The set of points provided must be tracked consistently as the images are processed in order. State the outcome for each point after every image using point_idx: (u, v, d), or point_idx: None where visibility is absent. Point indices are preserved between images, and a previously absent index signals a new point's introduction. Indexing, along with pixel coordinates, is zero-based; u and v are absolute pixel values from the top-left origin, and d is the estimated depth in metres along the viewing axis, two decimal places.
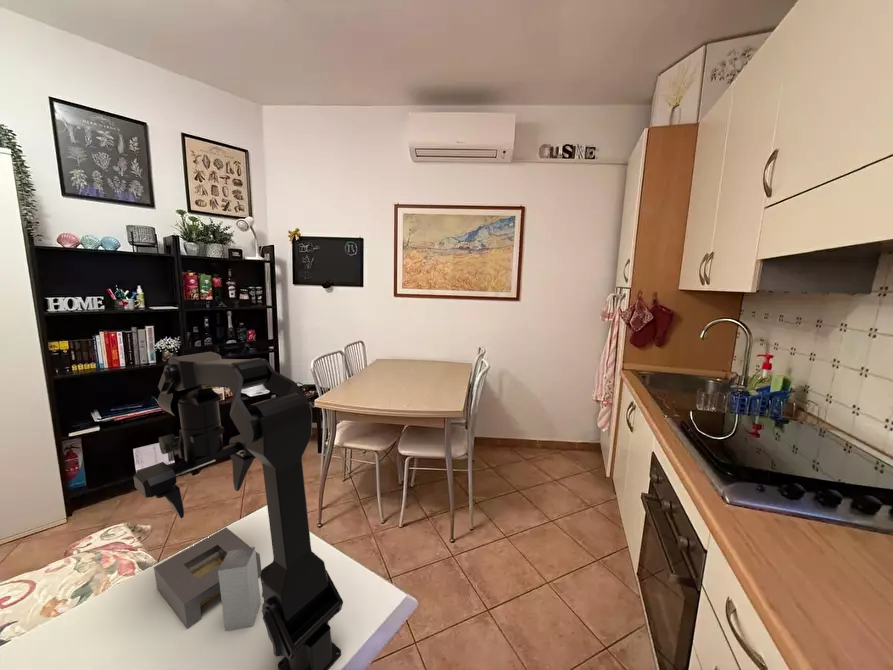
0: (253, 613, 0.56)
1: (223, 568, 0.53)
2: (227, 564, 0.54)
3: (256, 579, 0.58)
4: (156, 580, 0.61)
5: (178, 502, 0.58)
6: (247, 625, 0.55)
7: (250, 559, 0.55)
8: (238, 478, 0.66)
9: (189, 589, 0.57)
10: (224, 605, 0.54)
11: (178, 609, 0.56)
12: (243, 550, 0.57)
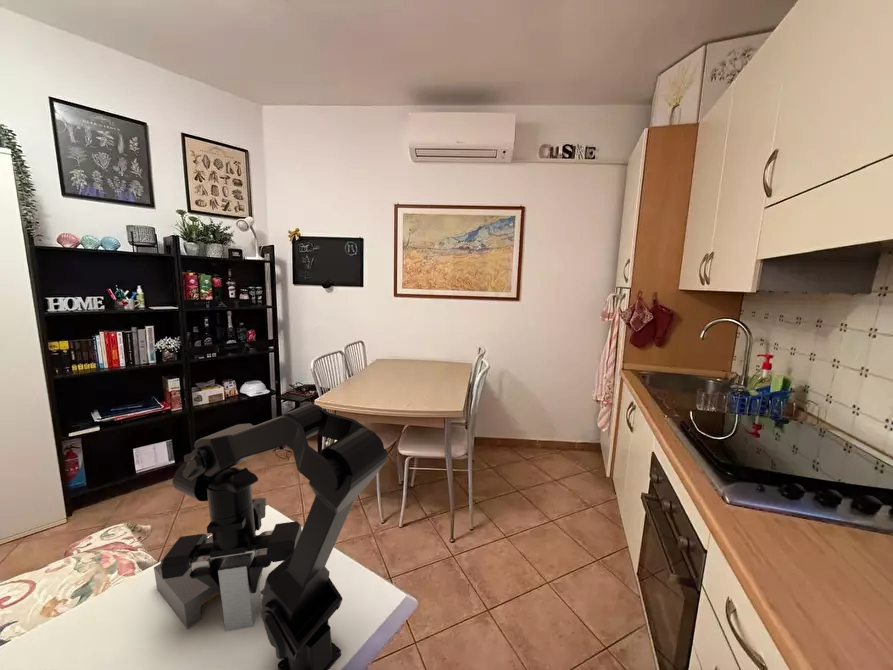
0: (253, 613, 0.56)
1: (223, 568, 0.53)
2: (227, 564, 0.54)
3: None
4: (156, 580, 0.61)
5: (214, 585, 0.53)
6: (247, 624, 0.55)
7: (250, 559, 0.55)
8: None
9: (189, 589, 0.57)
10: (224, 605, 0.54)
11: (178, 609, 0.56)
12: None
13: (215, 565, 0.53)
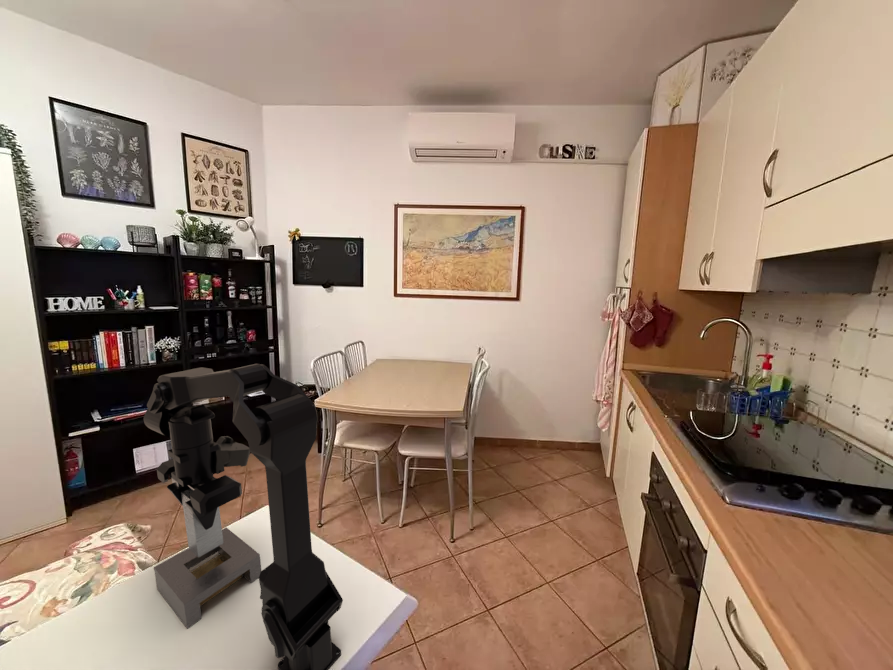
0: (201, 546, 0.60)
1: (184, 492, 0.60)
2: (190, 490, 0.60)
3: (215, 518, 0.61)
4: (156, 580, 0.61)
5: (182, 504, 0.61)
6: (196, 553, 0.60)
7: None
8: None
9: (189, 589, 0.57)
10: (186, 525, 0.61)
11: (178, 609, 0.56)
12: None
13: (185, 487, 0.61)
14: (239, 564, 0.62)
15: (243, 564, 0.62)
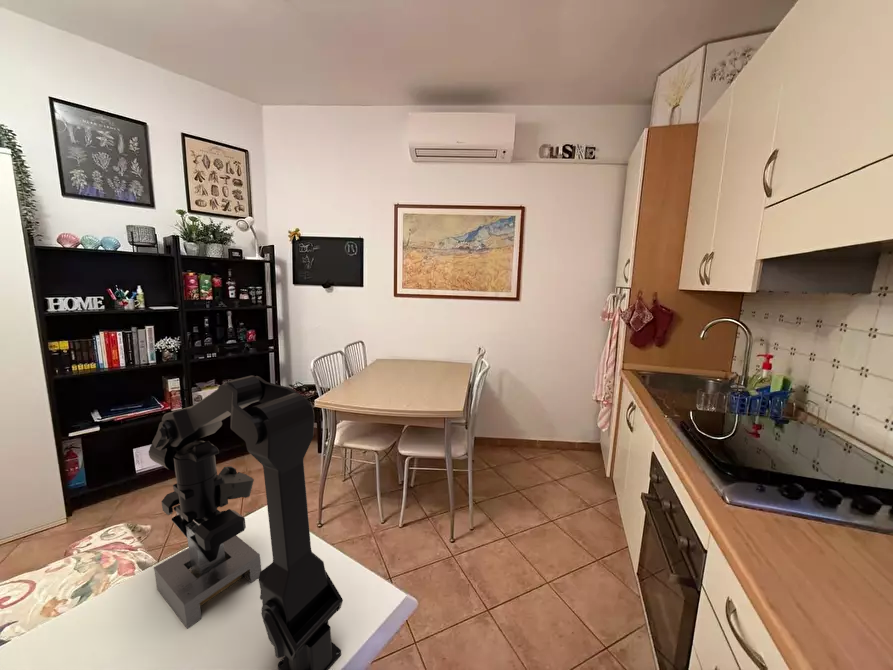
0: None
1: (188, 525, 0.61)
2: (194, 523, 0.61)
3: (219, 550, 0.62)
4: (156, 580, 0.61)
5: None
6: None
7: None
8: None
9: (189, 589, 0.57)
10: (190, 557, 0.62)
11: (178, 609, 0.56)
12: None
13: None
14: (239, 564, 0.62)
15: (243, 564, 0.62)
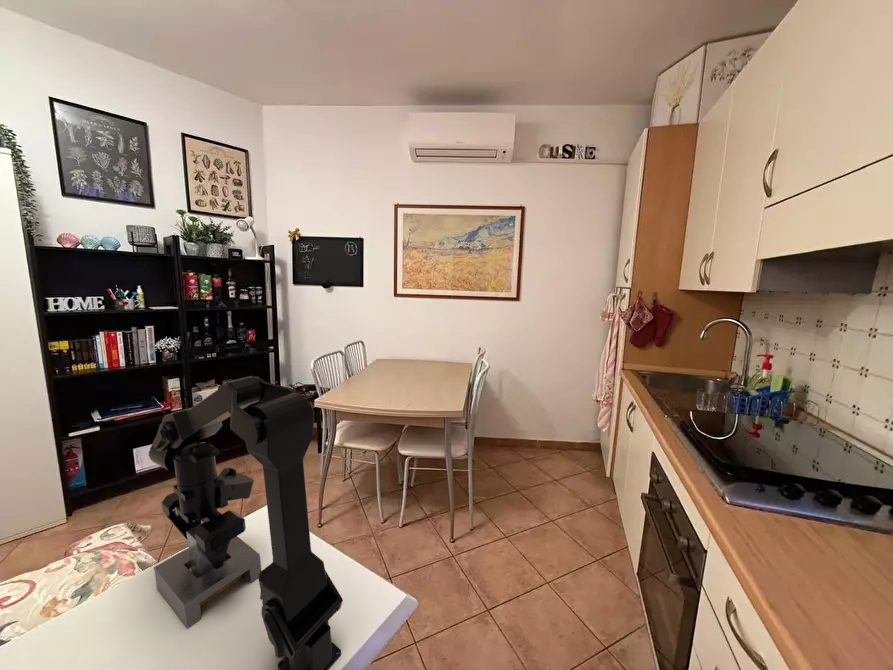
0: None
1: (189, 532, 0.61)
2: (195, 529, 0.61)
3: None
4: (156, 580, 0.61)
5: None
6: None
7: None
8: None
9: (189, 589, 0.57)
10: (191, 563, 0.62)
11: (178, 609, 0.56)
12: None
13: None
14: (239, 564, 0.62)
15: (243, 564, 0.62)
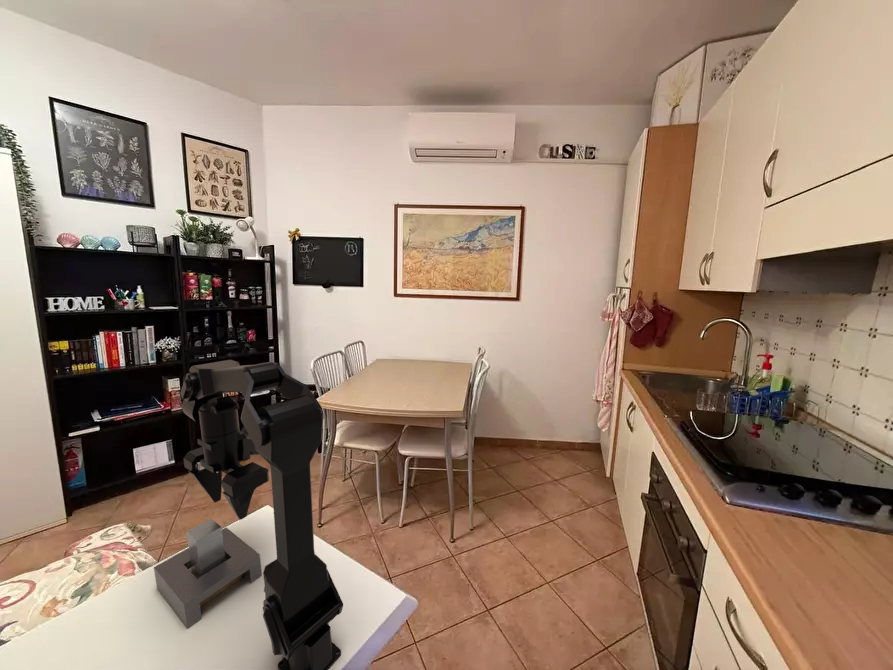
0: None
1: (189, 532, 0.61)
2: (195, 529, 0.61)
3: (220, 556, 0.62)
4: (156, 580, 0.61)
5: (203, 486, 0.65)
6: None
7: (208, 536, 0.60)
8: None
9: (189, 589, 0.57)
10: (191, 563, 0.62)
11: (178, 609, 0.56)
12: (215, 524, 0.63)
13: (206, 471, 0.65)
14: (239, 564, 0.62)
15: (243, 564, 0.62)
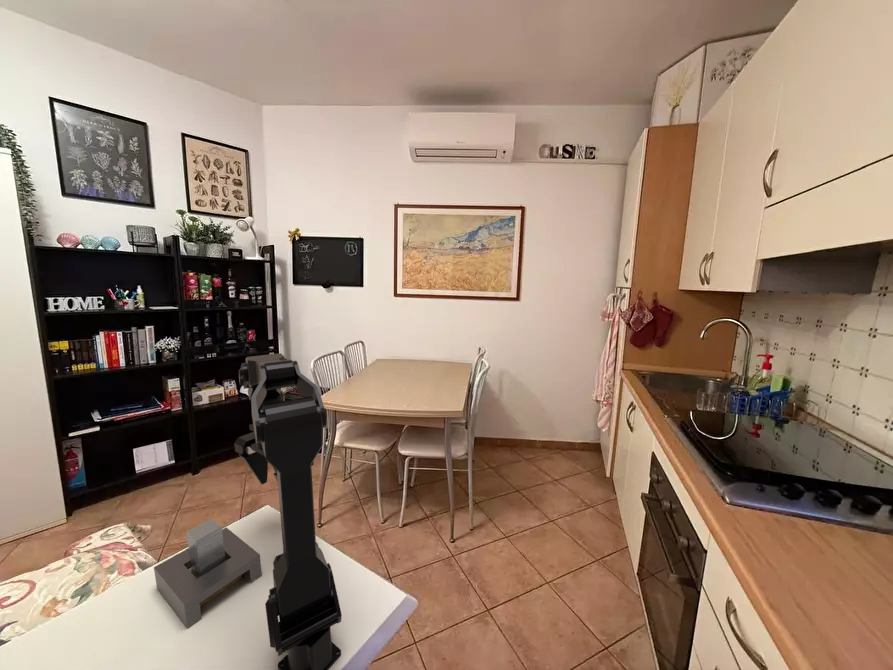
0: None
1: (189, 532, 0.61)
2: (195, 529, 0.61)
3: (220, 556, 0.62)
4: (156, 580, 0.61)
5: (252, 469, 0.70)
6: None
7: (208, 536, 0.60)
8: None
9: (189, 589, 0.57)
10: (191, 563, 0.62)
11: (178, 609, 0.56)
12: (215, 524, 0.63)
13: (254, 455, 0.70)
14: (239, 564, 0.62)
15: (243, 564, 0.62)
